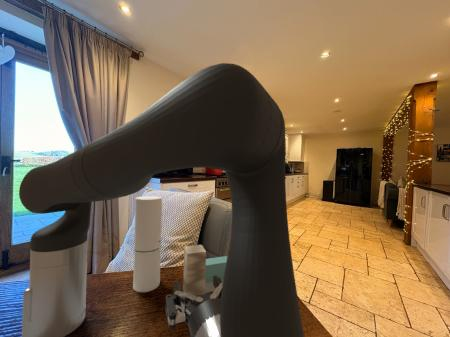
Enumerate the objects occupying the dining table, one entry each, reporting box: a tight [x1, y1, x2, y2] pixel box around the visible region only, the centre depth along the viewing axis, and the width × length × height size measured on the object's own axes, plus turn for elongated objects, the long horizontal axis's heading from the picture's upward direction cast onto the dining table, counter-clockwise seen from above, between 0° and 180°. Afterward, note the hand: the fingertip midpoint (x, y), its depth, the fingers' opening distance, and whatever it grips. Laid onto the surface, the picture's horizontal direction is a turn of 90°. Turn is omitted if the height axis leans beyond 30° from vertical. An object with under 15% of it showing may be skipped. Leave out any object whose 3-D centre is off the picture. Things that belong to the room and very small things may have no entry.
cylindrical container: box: [132, 195, 163, 293], centre depth 57 cm, size 7×7×25 cm
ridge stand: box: [205, 255, 228, 294], centre depth 59 cm, size 15×10×6 cm, turn 110°
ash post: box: [182, 244, 207, 303], centre depth 48 cm, size 4×4×14 cm
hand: (196, 282), depth 45 cm, fingers open, 8 cm apart
